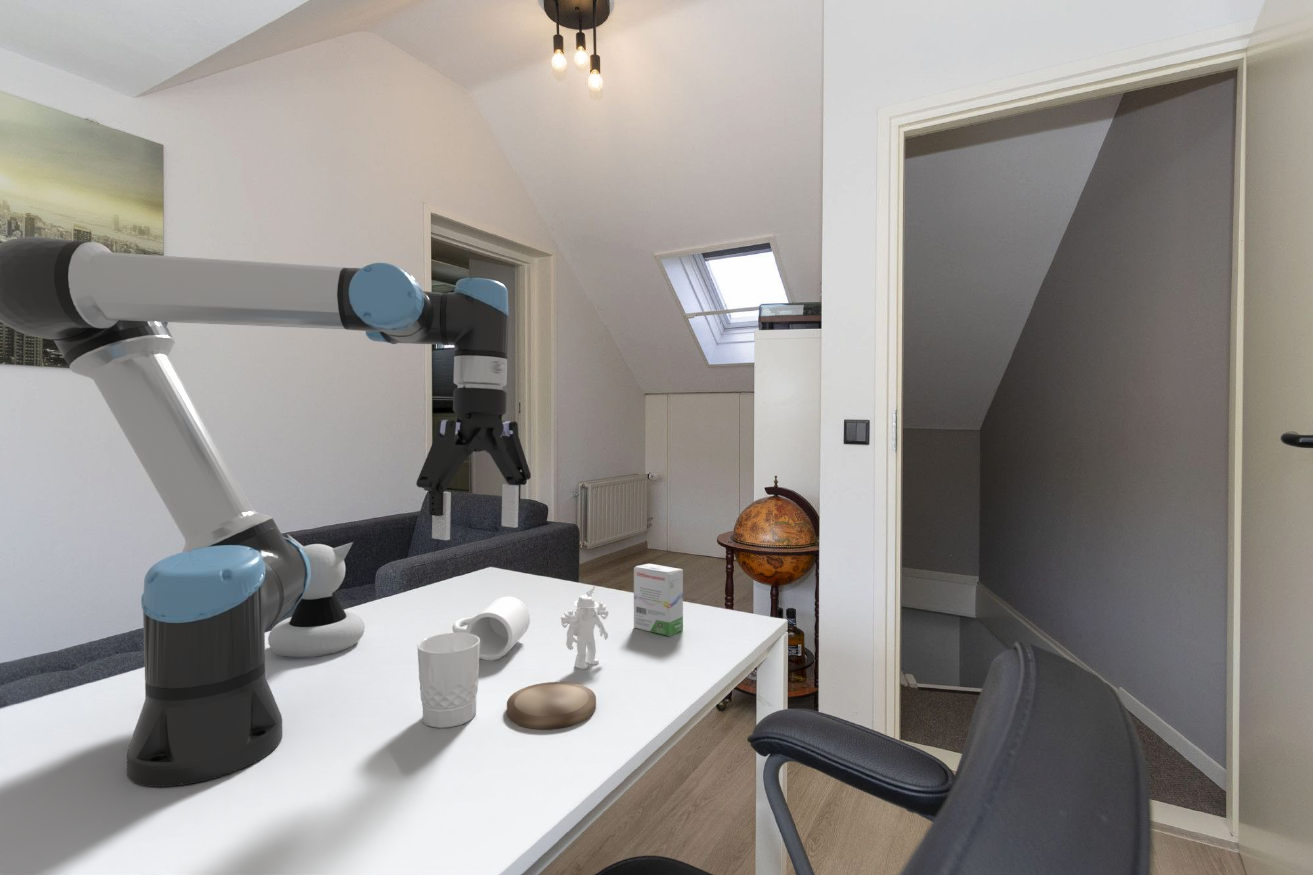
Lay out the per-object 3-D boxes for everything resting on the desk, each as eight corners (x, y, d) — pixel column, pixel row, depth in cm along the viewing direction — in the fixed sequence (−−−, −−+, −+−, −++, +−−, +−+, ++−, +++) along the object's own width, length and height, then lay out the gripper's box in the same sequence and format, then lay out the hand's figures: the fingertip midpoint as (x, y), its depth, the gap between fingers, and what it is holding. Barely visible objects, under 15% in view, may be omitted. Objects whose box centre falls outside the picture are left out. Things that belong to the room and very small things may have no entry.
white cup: (491, 716, 86) (491, 641, 86) (436, 737, 80) (436, 657, 80) (460, 698, 92) (460, 628, 91) (407, 717, 86) (406, 642, 86)
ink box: (684, 630, 122) (684, 567, 121) (668, 637, 118) (669, 572, 117) (648, 621, 127) (648, 561, 126) (632, 628, 123) (632, 566, 122)
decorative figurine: (370, 629, 122) (369, 523, 121) (357, 657, 107) (355, 537, 107) (282, 636, 117) (280, 526, 117) (256, 666, 103) (254, 541, 103)
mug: (530, 641, 116) (530, 596, 115) (512, 661, 106) (512, 613, 105) (465, 638, 117) (465, 594, 117) (441, 659, 107) (441, 611, 107)
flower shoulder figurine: (598, 653, 109) (598, 583, 109) (614, 659, 106) (614, 587, 106) (556, 668, 103) (556, 593, 102) (572, 675, 100) (572, 598, 100)
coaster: (531, 738, 80) (531, 728, 80) (492, 704, 90) (492, 695, 90) (612, 712, 87) (612, 703, 87) (568, 683, 97) (568, 674, 97)
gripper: (429, 381, 82) (426, 548, 82) (554, 392, 104) (551, 524, 104) (390, 382, 86) (387, 541, 86) (519, 392, 107) (516, 519, 108)
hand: (477, 532), depth 95 cm, fingers open, 13 cm apart
